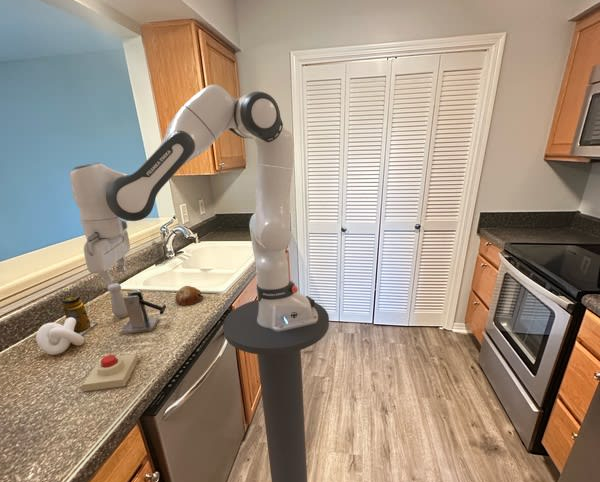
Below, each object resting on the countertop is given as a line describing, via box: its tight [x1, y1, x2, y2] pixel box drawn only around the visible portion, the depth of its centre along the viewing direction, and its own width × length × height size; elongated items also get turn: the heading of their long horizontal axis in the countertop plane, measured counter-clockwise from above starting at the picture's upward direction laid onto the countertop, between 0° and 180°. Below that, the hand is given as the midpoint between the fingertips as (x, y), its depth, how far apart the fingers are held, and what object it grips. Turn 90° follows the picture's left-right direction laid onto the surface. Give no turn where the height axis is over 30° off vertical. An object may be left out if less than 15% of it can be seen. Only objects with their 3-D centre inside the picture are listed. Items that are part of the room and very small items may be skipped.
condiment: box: [61, 295, 97, 336], centre depth 113 cm, size 7×8×12 cm
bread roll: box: [175, 285, 204, 306], centre depth 133 cm, size 10×10×8 cm
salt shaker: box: [106, 282, 129, 319], centre depth 121 cm, size 6×6×13 cm
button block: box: [81, 353, 139, 392], centre depth 90 cm, size 10×12×4 cm
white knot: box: [35, 317, 85, 356], centre depth 103 cm, size 11×12×9 cm
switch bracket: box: [121, 290, 159, 335], centre depth 113 cm, size 10×8×13 cm
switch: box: [130, 294, 167, 315], centre depth 112 cm, size 12×5×2 cm, turn 99°
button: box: [100, 354, 117, 368], centre depth 89 cm, size 4×4×2 cm
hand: (116, 277), depth 91 cm, fingers open, 8 cm apart
